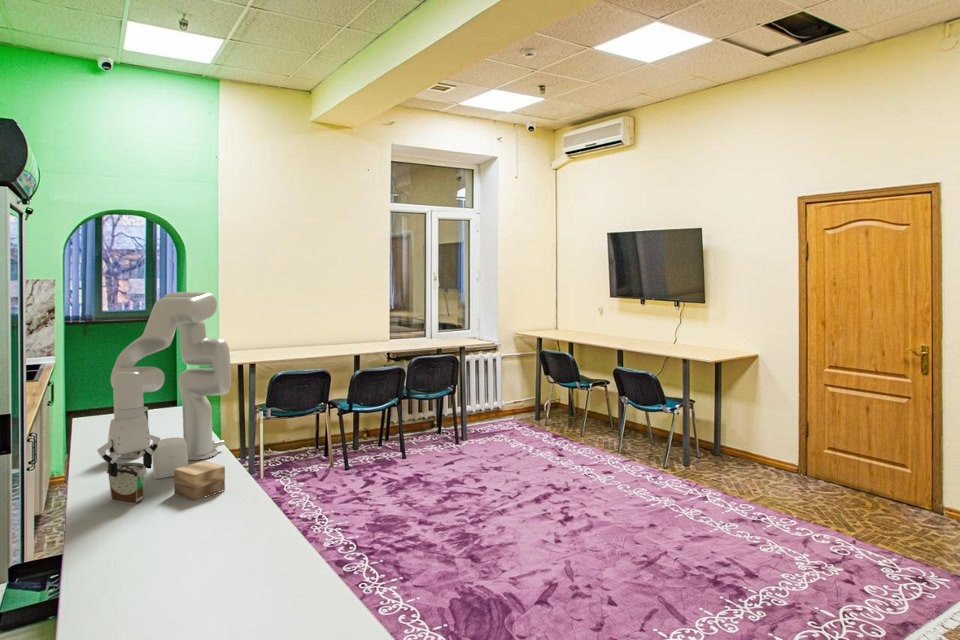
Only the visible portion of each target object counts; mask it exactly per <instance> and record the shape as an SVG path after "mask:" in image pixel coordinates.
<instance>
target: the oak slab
mask: <svg viewBox="0 0 960 640" xmlns="http://www.w3.org/2000/svg"><path fill="white" fill-rule="evenodd" d="M225 468H226V467H225V465H222V464H218V463H213V462H210V461H206V460H202V461H201V460H200V461H199V462H194V463H191V464H188V465H187V466H184V467H180V468H176V469H174V476H173V483H174V482H175V483H178V484H181V485H185V486H188V487H191V488H194V489H195V488H199V487H202V486H205V485H208V484H211V483H214V482H217V481H221V480H224V479H225V480H226V471H225V470H226V469H225Z"/></svg>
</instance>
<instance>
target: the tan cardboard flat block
mask: <svg viewBox="0 0 960 640" xmlns="http://www.w3.org/2000/svg"><path fill="white" fill-rule="evenodd" d="M225 480H226V478H225V479H224V480H221V481H217V482H214V483H211V484H208V485H205V486H202V487H199V488H195V489H194V488H191V487H188V486H185V485H181V484H178V483H175V482H174V481H173V486H174V487H173V489H174V495H176V496H178V497H182V498H184V497H185V498H184V499H187V498H188V499H187V500H190V499H192V500H191V501H193V500H196V501H198V500H197V499H199V498H202V497H205V496H208V495H211V494H214V493H217V492H219V491H222V490H225V491H226V481H225ZM217 494H218V493H217ZM214 495H215V494H214ZM211 496H212V495H211ZM208 497H209V496H208ZM205 498H206V497H205ZM202 499H203V498H202ZM199 500H200V499H199Z"/></svg>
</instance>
